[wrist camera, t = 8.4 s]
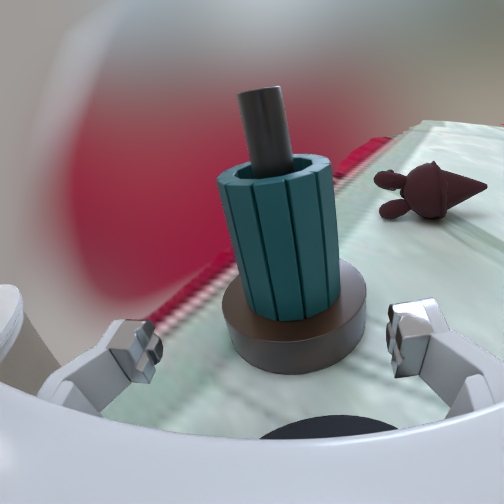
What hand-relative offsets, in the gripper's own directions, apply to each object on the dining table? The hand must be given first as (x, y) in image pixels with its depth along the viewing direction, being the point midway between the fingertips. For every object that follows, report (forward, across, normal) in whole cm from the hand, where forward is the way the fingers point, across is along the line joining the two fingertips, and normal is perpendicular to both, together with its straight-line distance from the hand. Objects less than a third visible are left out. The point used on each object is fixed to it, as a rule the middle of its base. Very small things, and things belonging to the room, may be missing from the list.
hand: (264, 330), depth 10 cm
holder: (+10, 0, +9) cm, 13 cm away
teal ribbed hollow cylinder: (+10, 0, +6) cm, 11 cm away
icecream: (+26, -17, +9) cm, 32 cm away
